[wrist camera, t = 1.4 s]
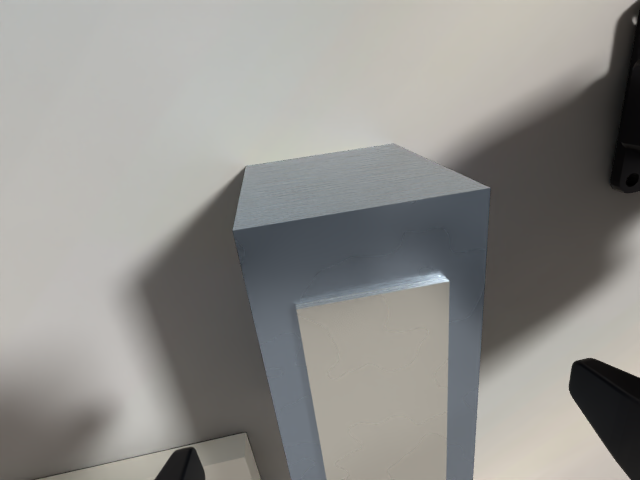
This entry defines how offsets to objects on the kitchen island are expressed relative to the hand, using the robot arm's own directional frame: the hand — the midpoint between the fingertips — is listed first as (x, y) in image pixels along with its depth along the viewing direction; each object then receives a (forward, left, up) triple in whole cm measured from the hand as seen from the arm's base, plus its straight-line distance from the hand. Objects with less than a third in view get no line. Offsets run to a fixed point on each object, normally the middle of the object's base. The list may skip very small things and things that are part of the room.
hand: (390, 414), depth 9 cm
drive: (0, 0, -6) cm, 6 cm away
